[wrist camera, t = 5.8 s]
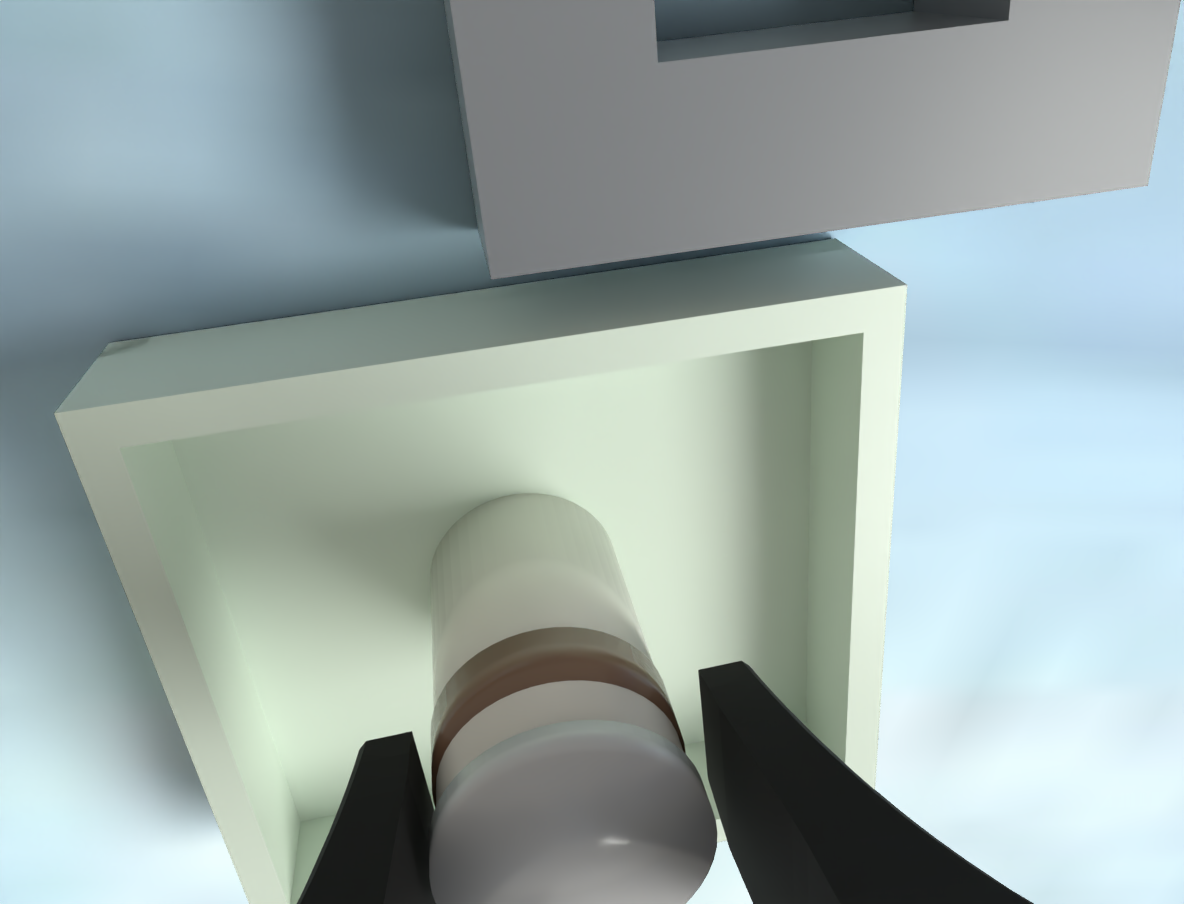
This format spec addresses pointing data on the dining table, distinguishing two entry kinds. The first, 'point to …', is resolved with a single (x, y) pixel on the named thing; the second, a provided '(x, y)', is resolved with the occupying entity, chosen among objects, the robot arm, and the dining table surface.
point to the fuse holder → (791, 120)
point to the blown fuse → (552, 723)
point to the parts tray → (483, 473)
